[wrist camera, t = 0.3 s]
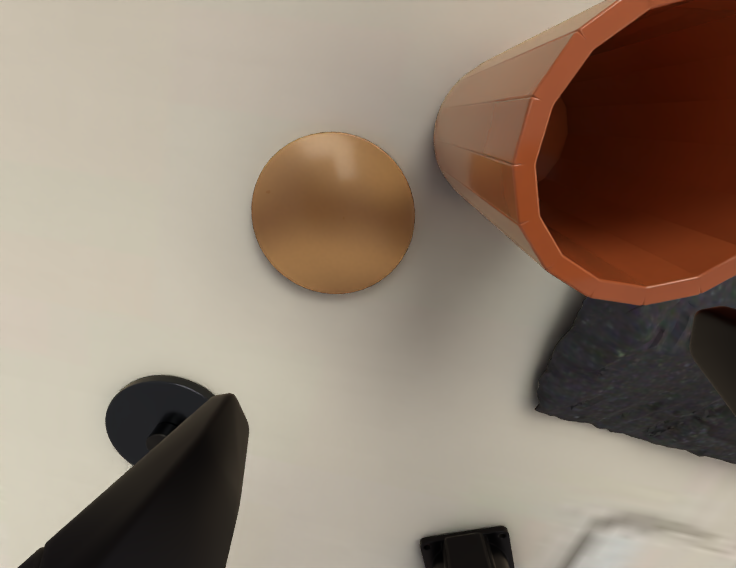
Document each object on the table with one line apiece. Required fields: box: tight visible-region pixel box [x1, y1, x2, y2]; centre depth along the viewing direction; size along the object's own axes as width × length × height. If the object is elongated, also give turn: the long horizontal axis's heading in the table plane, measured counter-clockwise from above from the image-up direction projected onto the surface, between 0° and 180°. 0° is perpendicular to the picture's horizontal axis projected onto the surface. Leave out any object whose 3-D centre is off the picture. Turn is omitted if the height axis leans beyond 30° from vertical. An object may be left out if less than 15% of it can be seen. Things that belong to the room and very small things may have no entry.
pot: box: [434, 0, 736, 306], centre depth 14 cm, size 7×7×12 cm
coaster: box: [251, 132, 415, 294], centre depth 21 cm, size 8×8×1 cm
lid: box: [105, 375, 215, 465], centre depth 26 cm, size 8×8×2 cm
